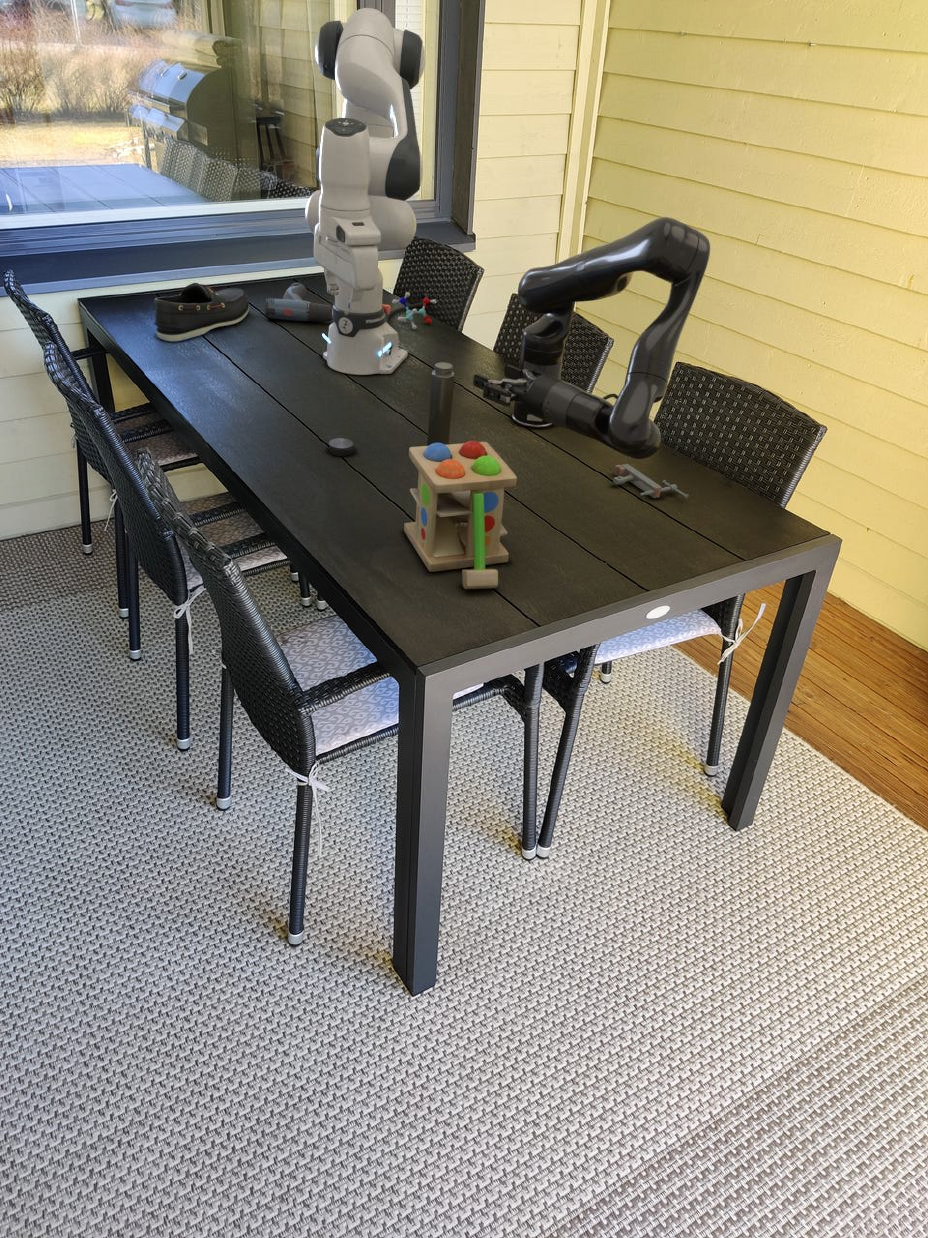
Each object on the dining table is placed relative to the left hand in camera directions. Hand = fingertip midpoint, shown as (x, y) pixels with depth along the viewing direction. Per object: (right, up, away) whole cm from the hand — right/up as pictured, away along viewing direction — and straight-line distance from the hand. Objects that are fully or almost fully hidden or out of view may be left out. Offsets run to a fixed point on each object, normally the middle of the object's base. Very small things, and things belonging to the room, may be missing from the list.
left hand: (343, 301), depth 180 cm
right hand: (+27, -13, +1) cm, 30 cm away
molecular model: (+8, +22, +86) cm, 89 cm away
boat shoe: (-45, +18, +72) cm, 87 cm away
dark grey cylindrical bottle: (+17, -25, +19) cm, 36 cm away
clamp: (+58, -33, +14) cm, 68 cm away
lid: (-2, -23, +16) cm, 29 cm away
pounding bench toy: (+22, -48, -14) cm, 55 cm away
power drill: (-21, +25, +87) cm, 93 cm away
